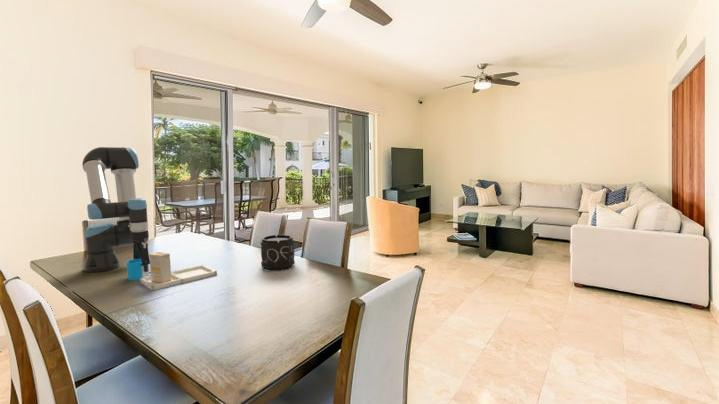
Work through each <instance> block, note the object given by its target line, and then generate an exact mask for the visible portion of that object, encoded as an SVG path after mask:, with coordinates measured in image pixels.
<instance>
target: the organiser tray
mask: <svg viewBox="0 0 719 404" xmlns="http://www.w3.org/2000/svg"><path fill="white" fill-rule="evenodd" d="M217 275H218V270H215V269H213V268H211V267H209V266H207V265H205V264H200V265H199V264H198V265H194V266H190V267H186V268H181V269H176V270H171V280H172V281H169V282H164V283H157V282H152V281H151V275H149V276H147V277H143V278H140V279H139V281H140V282H139V283H141V284H142V285H144V286H145V287H146V288H147V289H148V290H150V291H151V292H152V291H153V292H154V291H156V290H161V289H165V288H168V287H173V286H176V285H181V284H185V283H188V282H192V281H193V282H194V281H197V280H201V279H206V278H209V277H210V278H211V277H214V276H217Z"/></svg>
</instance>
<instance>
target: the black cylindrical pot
mask: <svg viewBox="0 0 719 404" xmlns="http://www.w3.org/2000/svg"><path fill="white" fill-rule="evenodd" d="M294 244H295V241H294V239H293V236H291V235H289V234H277V235H276V234H272V235H267V236H263V237H262V238H261V240H260V256H261V262H260V265H261V267H262V268H263V270H265V271H268V270H269V272H274V271H275V272H280V271H281V270H282V271H285V270H286V269H287V270H290V269H291V268H293V267H294V265H295V263H296V262H295V245H294ZM292 266H293V267H292ZM289 268H290V269H289Z"/></svg>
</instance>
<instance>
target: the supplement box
mask: <svg viewBox="0 0 719 404" xmlns="http://www.w3.org/2000/svg"><path fill="white" fill-rule="evenodd" d="M149 260H150V264H149V271H150V272H151V273H150V276H151V281H152V282H157V283H164V282H169V281H172V280H171V271H172V270H171V269H172V267H171V256H170V253H167V252H161V251H157V252H153V253H149Z"/></svg>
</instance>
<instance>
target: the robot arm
mask: <svg viewBox="0 0 719 404" xmlns="http://www.w3.org/2000/svg"><path fill="white" fill-rule="evenodd" d="M139 165H140V164H139V158H138V154H137V152H136V150H135V149H134V148H132V147H125V146H124V147H115V146H114V147H112V146H111V147H109V146H107V147H105V146H100V147H95V148H93V149H91V150H90V151H88V152H87V153H86V155H85V156H84V157H83V159H82V170H83V171H84V172H85V174H86V179H87V185H88V189H89V190H88V191H89V196H90V202H91V203H89V204H87V206H86V207H87V208H86V210H87V216H88V217H87V218H88V219H89V220H97V221H98V220H105V219H106V220H107V219H117V220H116V224H113V222H110V221H109V222H101V223H97V224H93V225H90V226H88V227H86V228H85V230H84V232H85V236H84V238H85V243H86V254H87V255H86V259H85V261H84V265H83V270H84V272H87V273H97V272H104V271H105V272H106V271H111V270H113V269H114V270H115V269H117V268H119V267H120V266H121V264H120V260H119V258H118V256H117V253H116V251H115V247H116V248H117V247H122V246H131V245H132V246H133V247H132V249H133V251H132V252H133V255H132V257H133V259H141V261H142V264H141V266H142V278H143V277H147V276H150V274H149V272H150V258H149V254H150V253H149V248H148V246H149V244H148V242H147V243H146V241H145V240H147V239H149V237H150V236H149V235H150V234H149V222H148V204H147V200H146V199H145V198H137V196H136V195H137V193H136V187H135V178H134V174H135V173H136V172H137V169H139V167H140V166H139ZM106 170H110V173H111V174H113V175H114V179H115V189H116V197H117V198H116V199H117V202H111V198H110V196H111V195H110V193H109V186H108V184H107V178H106V173H105V171H106ZM133 259H132V260H133Z"/></svg>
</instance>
